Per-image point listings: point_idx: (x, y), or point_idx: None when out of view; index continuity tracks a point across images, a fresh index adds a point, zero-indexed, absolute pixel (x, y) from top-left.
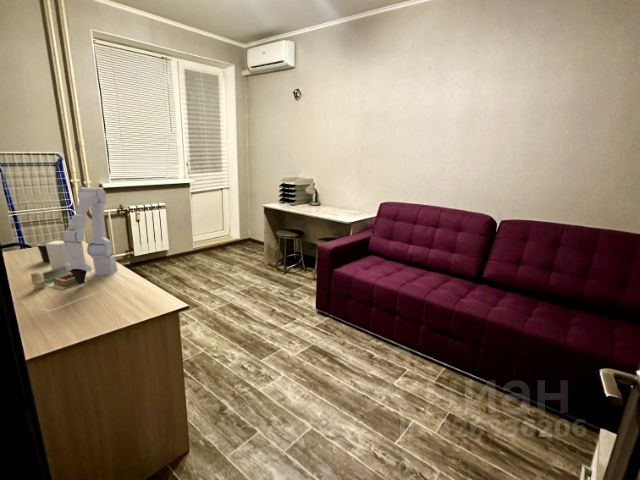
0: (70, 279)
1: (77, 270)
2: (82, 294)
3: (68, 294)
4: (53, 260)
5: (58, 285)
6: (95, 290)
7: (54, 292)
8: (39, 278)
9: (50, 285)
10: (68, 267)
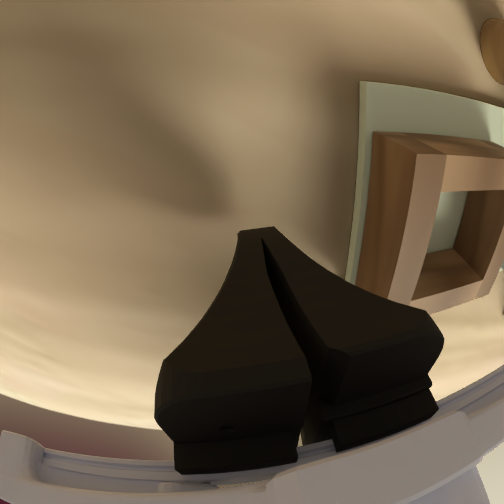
0: (404, 225)
1: (246, 428)
2: (67, 151)
3: (186, 57)
4: None
5: (459, 137)
6: (84, 260)
7: (376, 27)
8: None
9: (498, 118)
10: (446, 478)
